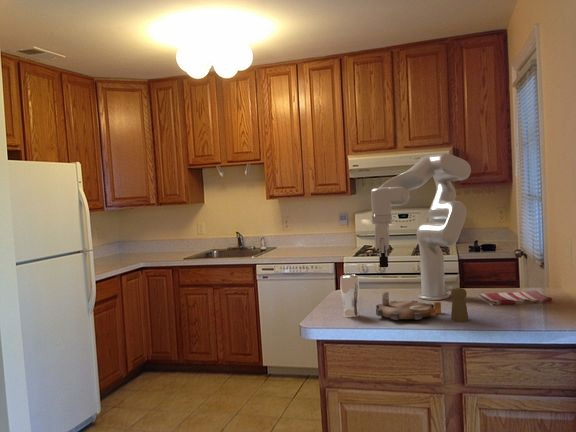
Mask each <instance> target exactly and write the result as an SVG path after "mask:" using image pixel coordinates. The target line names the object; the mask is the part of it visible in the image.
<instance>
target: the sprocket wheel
mask: <svg viewBox="0 0 576 432" xmlns="http://www.w3.org/2000/svg"><path fill="white" fill-rule="evenodd" d="M389 295H390V294H389V291H381V302H382V304H380V303H378V304H376V308H375V315H376V316H378V317H381V316H382V317H386V318H389V319H391V320H395V321H396V320H398V319H414V320H422V318H426V317H429V316H432V317H433V316H436V315H437V314H436V309H434V303H425V302H420V301H418V300H409V301H408V300H406V301H405V300H404V301H403V300H402V301H397V300H390V299H389V298H390V297H389Z"/></svg>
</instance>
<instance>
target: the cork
mask: <svg viewBox="0 0 576 432" xmlns="http://www.w3.org/2000/svg"><path fill="white" fill-rule="evenodd" d="M467 295H468V294H467V290H466V289H465V288H461V287H456V288H455V287H454V289H452V291H450V296H451V298H452V304H451V312H450V313H451V314H450V321H452V322H456V323H464V322H469V320H470V319H469V318H470V317H469V313H468V308H467V301H466V298H467Z"/></svg>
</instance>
